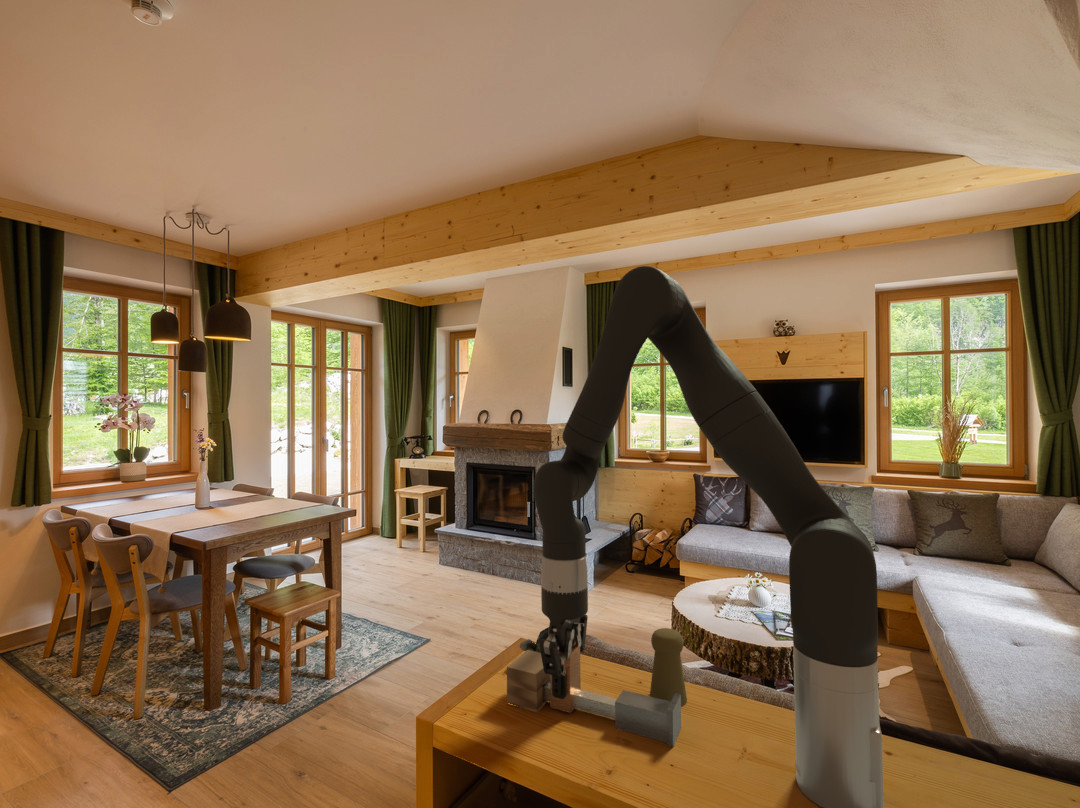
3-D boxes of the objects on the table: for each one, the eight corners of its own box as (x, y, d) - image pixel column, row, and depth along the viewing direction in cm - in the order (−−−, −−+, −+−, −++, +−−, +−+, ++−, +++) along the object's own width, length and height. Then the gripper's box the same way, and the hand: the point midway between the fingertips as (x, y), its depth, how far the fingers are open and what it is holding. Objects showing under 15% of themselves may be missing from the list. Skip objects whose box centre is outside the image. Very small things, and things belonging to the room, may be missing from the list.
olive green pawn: (688, 710, 83) (687, 640, 84) (649, 706, 85) (648, 637, 85) (685, 690, 89) (684, 625, 90) (649, 687, 90) (648, 622, 91)
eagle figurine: (561, 669, 95) (576, 640, 103) (538, 635, 96) (556, 609, 104) (530, 683, 98) (548, 654, 106) (509, 650, 99) (528, 624, 107)
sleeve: (681, 728, 79) (680, 694, 79) (673, 746, 74) (672, 711, 74) (624, 713, 83) (624, 681, 83) (614, 730, 78) (613, 696, 78)
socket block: (556, 691, 89) (555, 656, 89) (536, 712, 83) (536, 674, 83) (527, 684, 92) (527, 649, 92) (507, 704, 86) (506, 666, 86)
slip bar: (642, 716, 81) (641, 657, 81) (634, 730, 77) (633, 668, 77) (538, 689, 89) (538, 636, 89) (527, 700, 86) (526, 645, 86)
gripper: (567, 600, 77) (568, 718, 77) (601, 574, 90) (603, 675, 89) (522, 593, 81) (523, 706, 80) (562, 568, 93) (563, 666, 93)
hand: (565, 689), depth 85 cm, fingers closed on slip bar, 4 cm apart
